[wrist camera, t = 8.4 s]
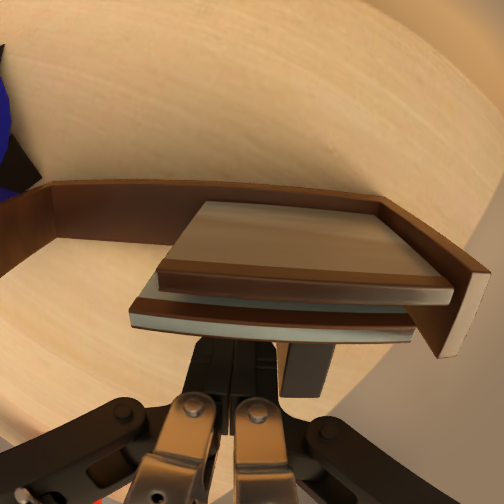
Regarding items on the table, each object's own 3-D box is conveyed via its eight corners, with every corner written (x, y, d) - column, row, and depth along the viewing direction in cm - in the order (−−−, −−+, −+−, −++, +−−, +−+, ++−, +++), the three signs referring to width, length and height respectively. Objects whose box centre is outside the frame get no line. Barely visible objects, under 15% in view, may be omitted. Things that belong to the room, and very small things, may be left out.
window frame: (375, 251, 18) (456, 357, 9) (58, 229, 18) (-43, 301, 9) (386, 197, 17) (492, 272, 7) (53, 180, 17) (-63, 232, 7)
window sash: (339, 304, 17) (378, 410, 10) (188, 294, 17) (147, 399, 10) (353, 237, 16) (418, 326, 8) (186, 225, 16) (127, 309, 8)
